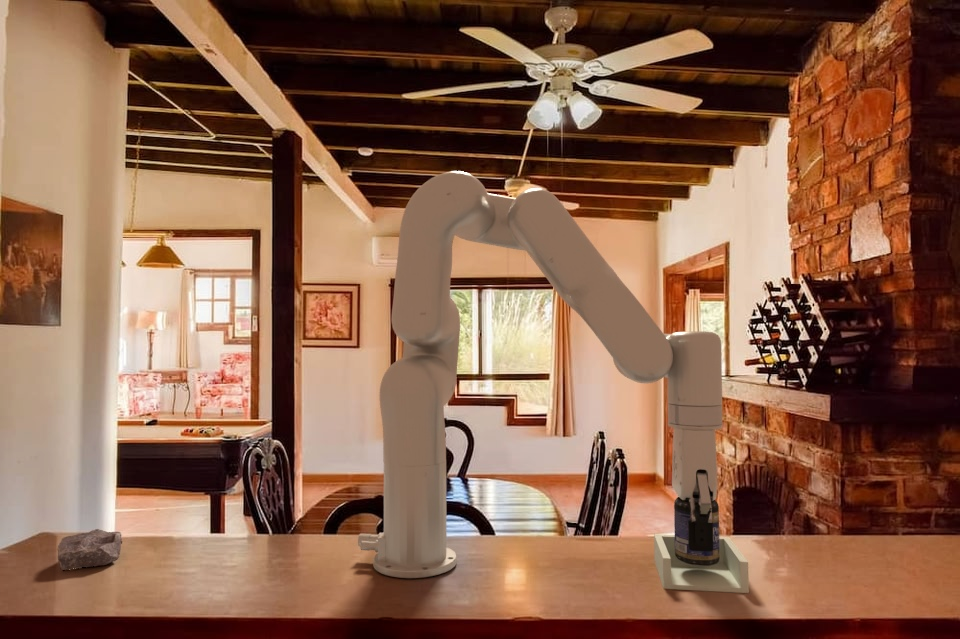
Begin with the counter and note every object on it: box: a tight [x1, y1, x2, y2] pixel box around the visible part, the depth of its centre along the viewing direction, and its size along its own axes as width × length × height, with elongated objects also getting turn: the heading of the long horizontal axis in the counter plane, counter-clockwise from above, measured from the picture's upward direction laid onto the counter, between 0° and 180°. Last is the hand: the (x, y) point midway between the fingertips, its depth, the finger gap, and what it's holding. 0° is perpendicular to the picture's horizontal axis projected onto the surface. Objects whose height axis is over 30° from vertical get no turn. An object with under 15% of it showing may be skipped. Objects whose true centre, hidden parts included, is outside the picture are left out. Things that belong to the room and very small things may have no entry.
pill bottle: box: [673, 490, 720, 566], centre depth 92 cm, size 6×6×11 cm
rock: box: [57, 528, 123, 571], centre depth 100 cm, size 8×11×5 cm
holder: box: [653, 533, 750, 594], centre depth 91 cm, size 11×11×4 cm
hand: (696, 541), depth 91 cm, fingers closed on pill bottle, 6 cm apart
